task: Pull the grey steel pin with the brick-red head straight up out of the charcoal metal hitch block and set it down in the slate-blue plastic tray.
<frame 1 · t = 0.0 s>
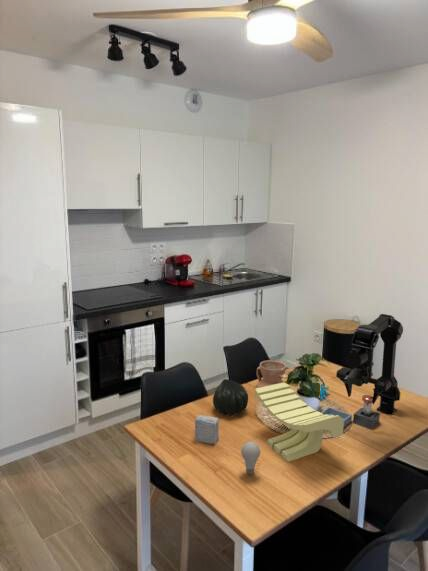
hand: (361, 400, 159), 15 cm above the table, tool pointing down, fingers open, 9 cm apart
tray: (333, 422, 172), on the table
pin: (367, 410, 171), in the hitch block
slatted curved stool: (294, 446, 154), on the table
lightbulb: (250, 474, 138), on the table
ceramic jug: (270, 393, 198), on the table
hitch block: (366, 422, 172), on the table
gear: (318, 397, 195), on the table
medicine box: (206, 440, 158), on the table
squash: (230, 412, 180), on the table
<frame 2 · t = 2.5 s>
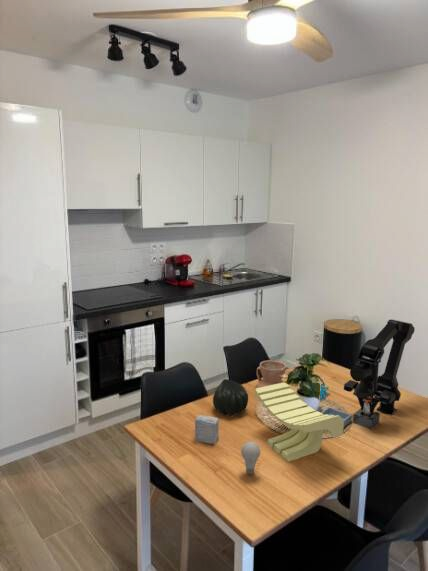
hand: (367, 411, 171), 5 cm above the table, tool pointing down, fingers closed on pin, 3 cm apart
pin: (367, 410, 171), in the hitch block, touching gripper
everything else where it was.
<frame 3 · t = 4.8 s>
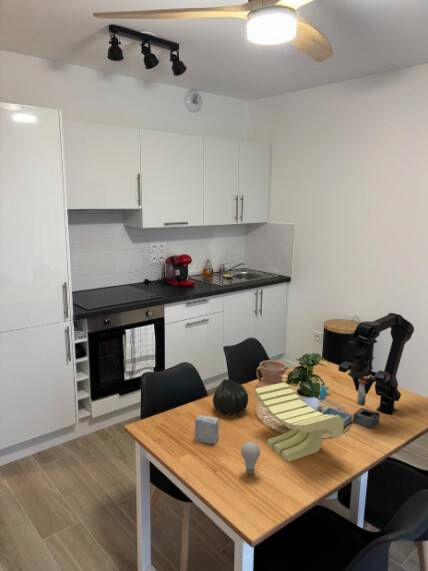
hand: (361, 392, 169), 13 cm above the table, tool pointing down, fingers closed on pin, 3 cm apart
pin: (362, 391, 169), point 14 cm above the table, touching gripper
everything else where it was.
when the fingers open (7 cm above the table, at t = 7.1 s): pin drops 2 cm, resting on tray.
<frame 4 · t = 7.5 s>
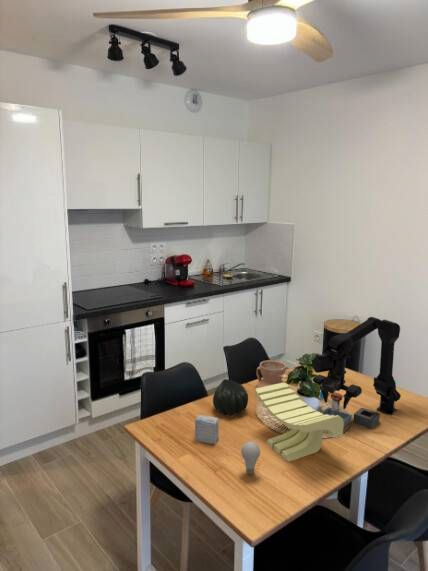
hand: (335, 405, 170), 7 cm above the table, tool pointing down, fingers open, 8 cm apart
pin: (335, 408, 171), in the tray, point 6 cm above the table
everything else where it was.
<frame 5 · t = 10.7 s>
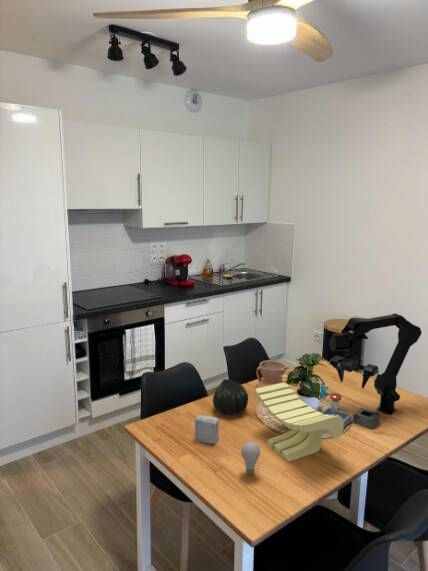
hand: (352, 385, 176), 13 cm above the table, tool pointing down, fingers open, 9 cm apart
at the end: pin inside the target area on the tray (0.0 cm from its centre), point 6.1 cm above the tray's base; the gripper is holding nothing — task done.
